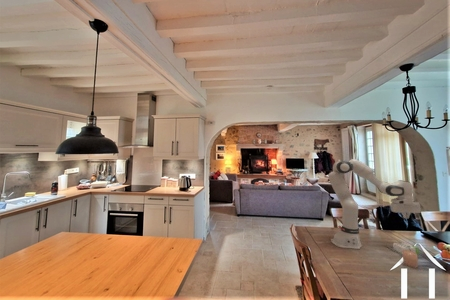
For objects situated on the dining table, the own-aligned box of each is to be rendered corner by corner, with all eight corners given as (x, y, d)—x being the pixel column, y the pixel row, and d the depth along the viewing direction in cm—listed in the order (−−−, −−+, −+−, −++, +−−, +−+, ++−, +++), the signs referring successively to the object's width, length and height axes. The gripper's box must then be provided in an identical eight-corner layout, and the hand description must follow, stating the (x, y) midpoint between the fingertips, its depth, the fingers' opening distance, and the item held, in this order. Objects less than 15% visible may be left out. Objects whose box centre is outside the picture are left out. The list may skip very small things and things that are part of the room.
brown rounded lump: (410, 267, 117) (409, 255, 118) (400, 261, 124) (399, 250, 125) (421, 267, 117) (420, 255, 117) (410, 261, 124) (409, 250, 124)
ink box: (419, 247, 132) (403, 248, 132) (419, 254, 131) (403, 255, 132) (407, 242, 140) (392, 242, 140) (407, 248, 140) (393, 249, 140)
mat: (405, 257, 128) (405, 257, 128) (386, 247, 144) (386, 246, 144) (424, 258, 127) (424, 257, 127) (403, 247, 143) (403, 246, 143)
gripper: (415, 200, 144) (415, 217, 143) (388, 199, 145) (389, 216, 144) (423, 201, 137) (424, 219, 137) (395, 201, 139) (396, 219, 138)
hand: (406, 218), depth 141 cm, fingers closed
